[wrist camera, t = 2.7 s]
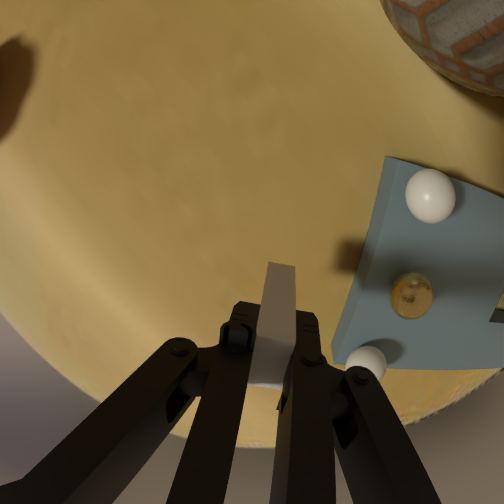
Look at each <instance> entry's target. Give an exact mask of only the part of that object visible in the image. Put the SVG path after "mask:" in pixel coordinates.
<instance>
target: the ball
mask: <svg viewBox="0 0 504 504" xmlns="http://www.w3.org/2000/svg"><path fill="white" fill-rule="evenodd" d="M433 301H434V288H433V285H432V283H431V281H430V280H429V278H428V277H427V276H425V275H424V274H422V273H420V272H416V271H409V272H405V273H403V274H401V275H400V276H398V277H397V278H396V279H395V280H394V282H393V283H392V285H391V288H390V291H389V302H390V306H391V308H392V310H393V311H394V312H395V313H396V314H397V315H398V316H399V317H401V318H403V319H406V320H415V319H419V318H421V317H423V316H424V315H425V314H426V313H427V312H428V311H429V310H430V308H431V307H432V304H433Z"/></svg>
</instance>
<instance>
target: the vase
mask: <svg viewBox="0 0 504 504" xmlns="http://www.w3.org/2000/svg"><path fill="white" fill-rule="evenodd" d="M380 3H381V5H382V7H383V10H384V12H385V14H386V16H387V17H388V19H389V21H390V22H391V24H392V26H393V27H394V29H395V30H396V31H397V33H398V34H399V35H400V37H401V38H402V39H403V40H404V42H405V43H406V44H407V45H408V46H409V47H410V48H411V49H412V50H413V51H414V52H415V53H416V54H417V55H418V56H419V57H420V58H421V59H422V60H423V61H424V62H426V63H427V64H428V65H429V66H430V67H432V68H433V69H434V70H436V71H437V72H439V73H440V74H442V75H443V76H445V77H447V78H448V79H450V80H452V81H454V82H456V83H458V84H460V85H462V86H464V87H466V88H468V89H471V90H474V91H477V92H479V93H482V94H485V95H489V96H494V97H500V98H504V0H380Z"/></svg>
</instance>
